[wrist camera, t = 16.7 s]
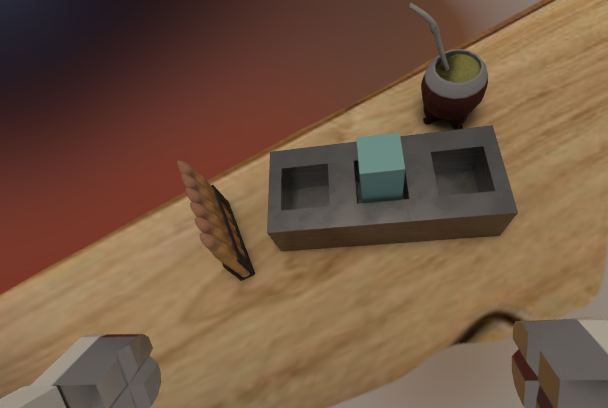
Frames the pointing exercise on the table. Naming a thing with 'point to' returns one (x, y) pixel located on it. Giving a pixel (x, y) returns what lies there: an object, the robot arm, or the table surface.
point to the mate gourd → (451, 81)
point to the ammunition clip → (216, 223)
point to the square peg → (381, 167)
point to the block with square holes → (398, 213)
